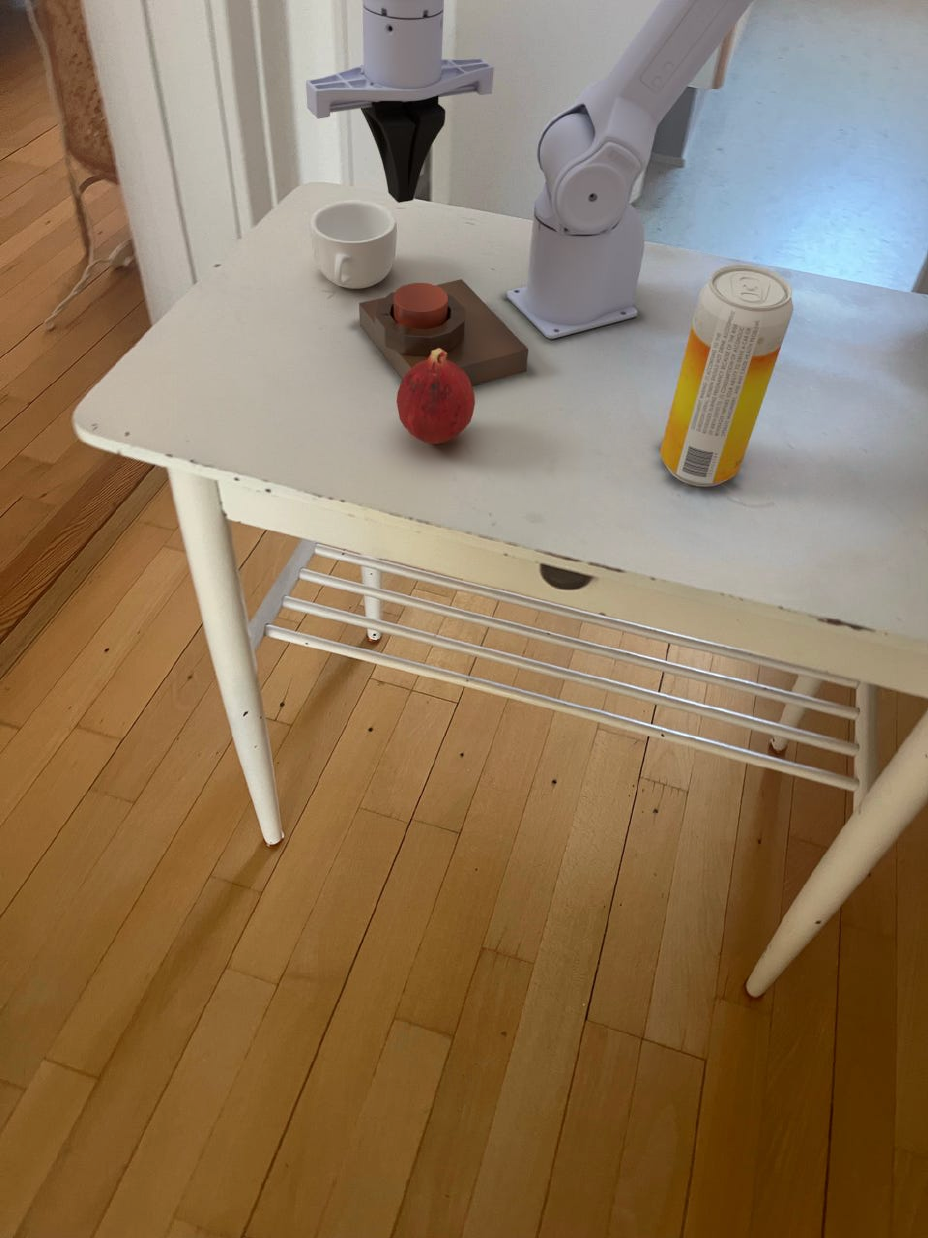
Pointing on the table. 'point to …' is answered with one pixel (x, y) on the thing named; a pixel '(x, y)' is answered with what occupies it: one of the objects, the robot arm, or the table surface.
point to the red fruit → (435, 399)
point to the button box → (448, 337)
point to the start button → (420, 305)
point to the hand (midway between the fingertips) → (400, 196)
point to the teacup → (354, 242)
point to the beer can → (725, 372)
